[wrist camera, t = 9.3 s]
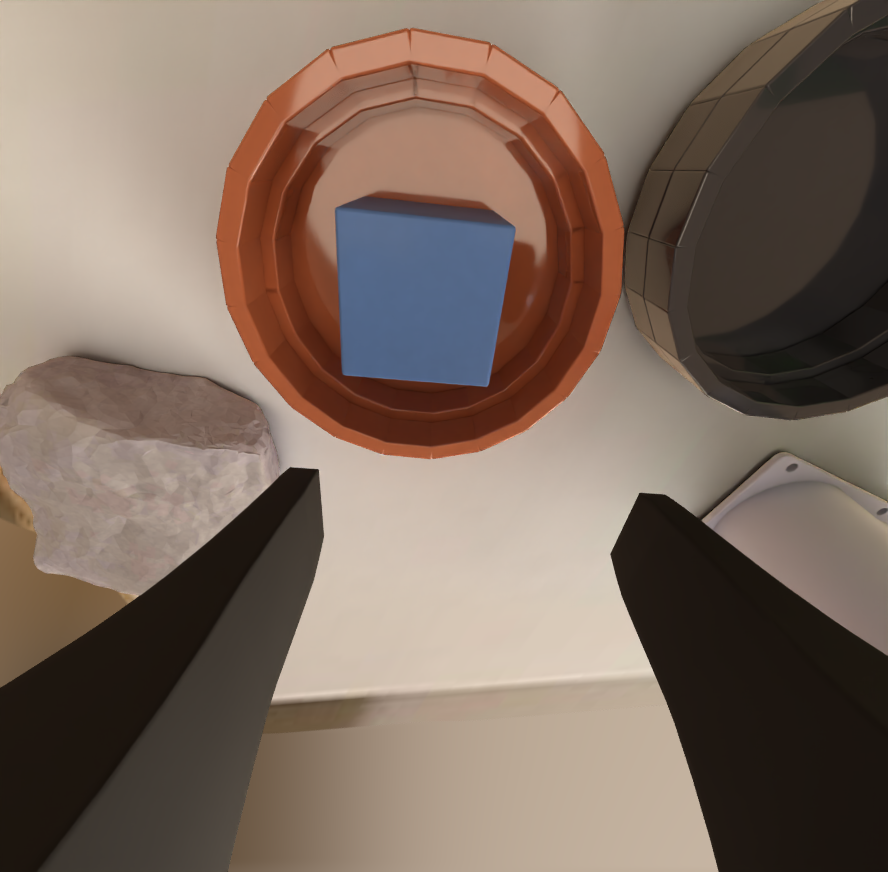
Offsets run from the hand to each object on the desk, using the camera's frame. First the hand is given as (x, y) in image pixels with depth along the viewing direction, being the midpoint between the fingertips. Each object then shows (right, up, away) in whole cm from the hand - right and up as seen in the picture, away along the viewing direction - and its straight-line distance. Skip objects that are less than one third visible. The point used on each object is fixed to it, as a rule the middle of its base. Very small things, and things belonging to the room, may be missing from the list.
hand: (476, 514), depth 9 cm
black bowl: (+12, +9, +5) cm, 16 cm away
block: (-1, +8, +6) cm, 10 cm away
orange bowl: (-1, +8, +6) cm, 10 cm away
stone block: (-14, 0, +11) cm, 18 cm away
